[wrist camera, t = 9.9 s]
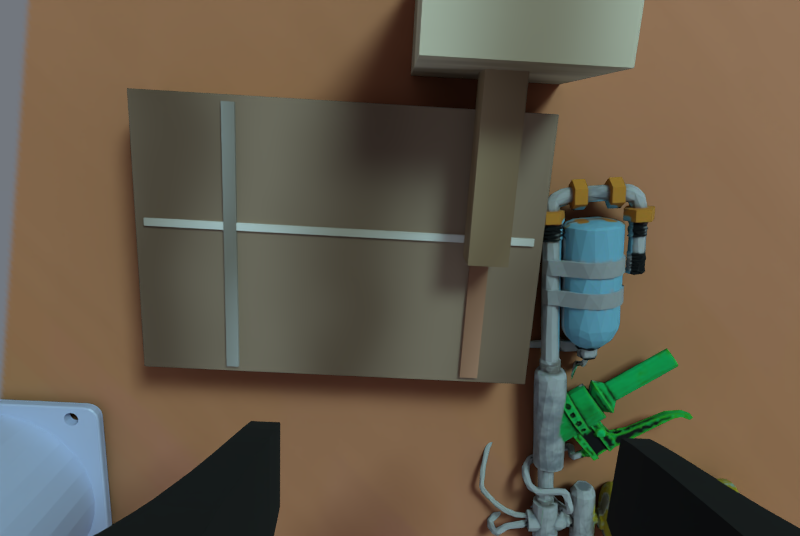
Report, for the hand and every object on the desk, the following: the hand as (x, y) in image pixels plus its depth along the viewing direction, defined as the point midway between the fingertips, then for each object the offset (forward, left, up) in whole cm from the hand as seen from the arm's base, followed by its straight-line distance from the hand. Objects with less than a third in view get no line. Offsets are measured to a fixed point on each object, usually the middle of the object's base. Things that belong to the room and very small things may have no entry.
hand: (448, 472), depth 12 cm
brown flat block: (-3, +3, -9) cm, 10 cm away
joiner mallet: (+2, +7, -10) cm, 12 cm away
